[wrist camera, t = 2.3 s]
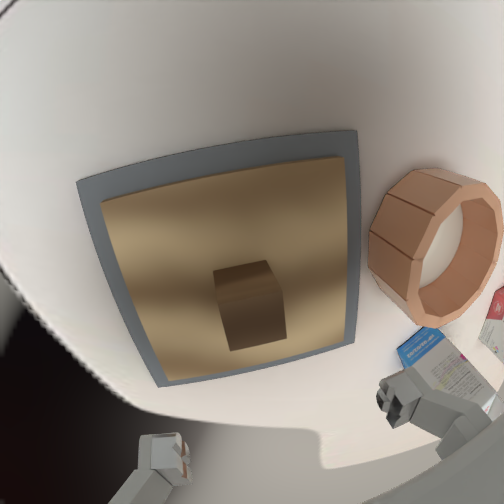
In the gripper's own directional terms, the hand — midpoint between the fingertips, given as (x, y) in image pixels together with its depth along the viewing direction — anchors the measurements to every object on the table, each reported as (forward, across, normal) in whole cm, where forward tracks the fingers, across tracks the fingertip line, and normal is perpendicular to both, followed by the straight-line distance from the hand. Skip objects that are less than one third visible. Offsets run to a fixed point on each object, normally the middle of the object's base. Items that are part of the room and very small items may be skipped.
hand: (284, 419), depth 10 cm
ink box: (+11, -18, +14) cm, 26 cm away
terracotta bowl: (+11, -15, -1) cm, 18 cm away
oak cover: (+10, 0, -1) cm, 10 cm away
